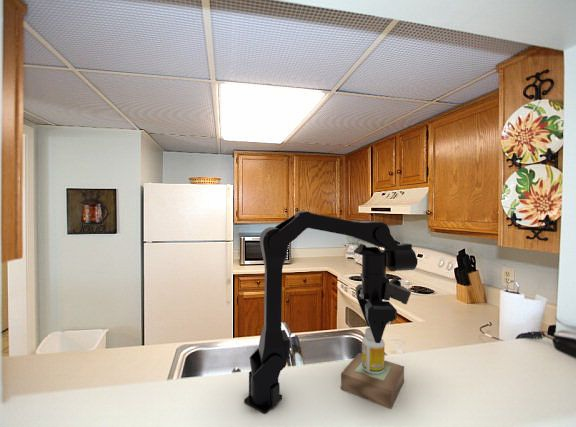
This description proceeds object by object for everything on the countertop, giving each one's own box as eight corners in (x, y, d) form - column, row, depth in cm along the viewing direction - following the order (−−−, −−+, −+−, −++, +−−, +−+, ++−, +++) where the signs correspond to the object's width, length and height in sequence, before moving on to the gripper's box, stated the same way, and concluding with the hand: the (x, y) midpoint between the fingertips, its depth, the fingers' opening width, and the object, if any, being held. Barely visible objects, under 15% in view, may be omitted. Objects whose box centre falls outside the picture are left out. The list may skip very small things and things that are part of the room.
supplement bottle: (357, 368, 71) (358, 330, 71) (368, 360, 75) (368, 324, 75) (378, 377, 68) (378, 337, 67) (388, 368, 72) (388, 330, 71)
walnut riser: (341, 389, 70) (341, 372, 70) (358, 366, 80) (358, 352, 80) (391, 408, 63) (391, 390, 63) (403, 381, 73) (404, 365, 73)
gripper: (421, 282, 61) (421, 354, 61) (395, 264, 80) (395, 320, 80) (368, 281, 62) (368, 352, 62) (355, 264, 81) (355, 319, 81)
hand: (373, 334), depth 71 cm, fingers open, 9 cm apart
